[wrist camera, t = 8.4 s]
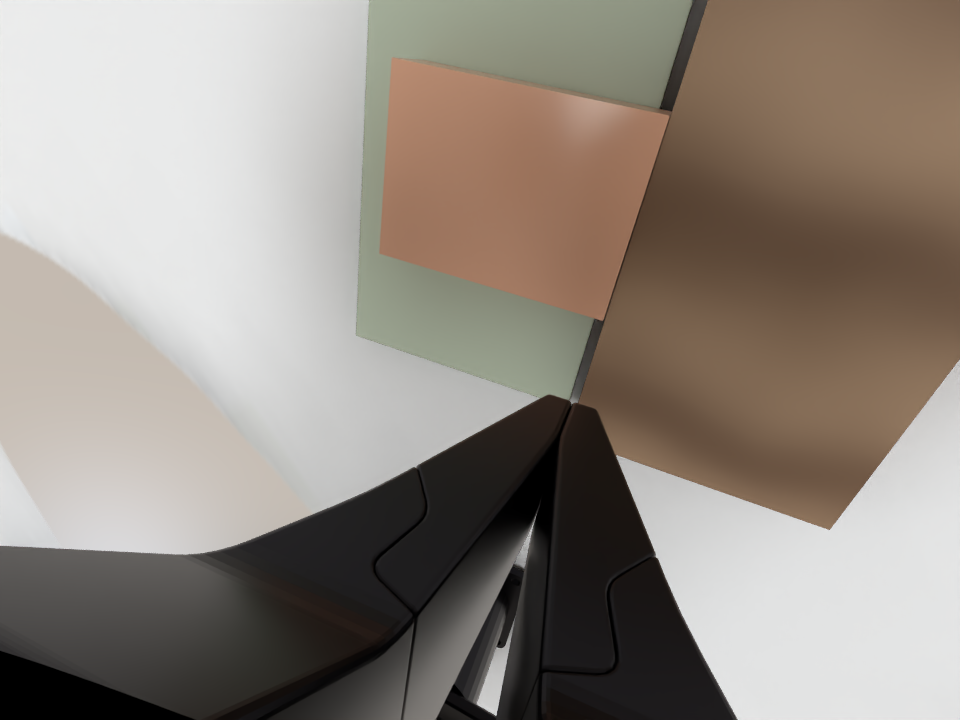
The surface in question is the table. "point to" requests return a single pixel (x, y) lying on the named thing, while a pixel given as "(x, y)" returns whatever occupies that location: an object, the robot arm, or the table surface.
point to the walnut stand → (792, 253)
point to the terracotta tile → (514, 182)
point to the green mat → (524, 56)
